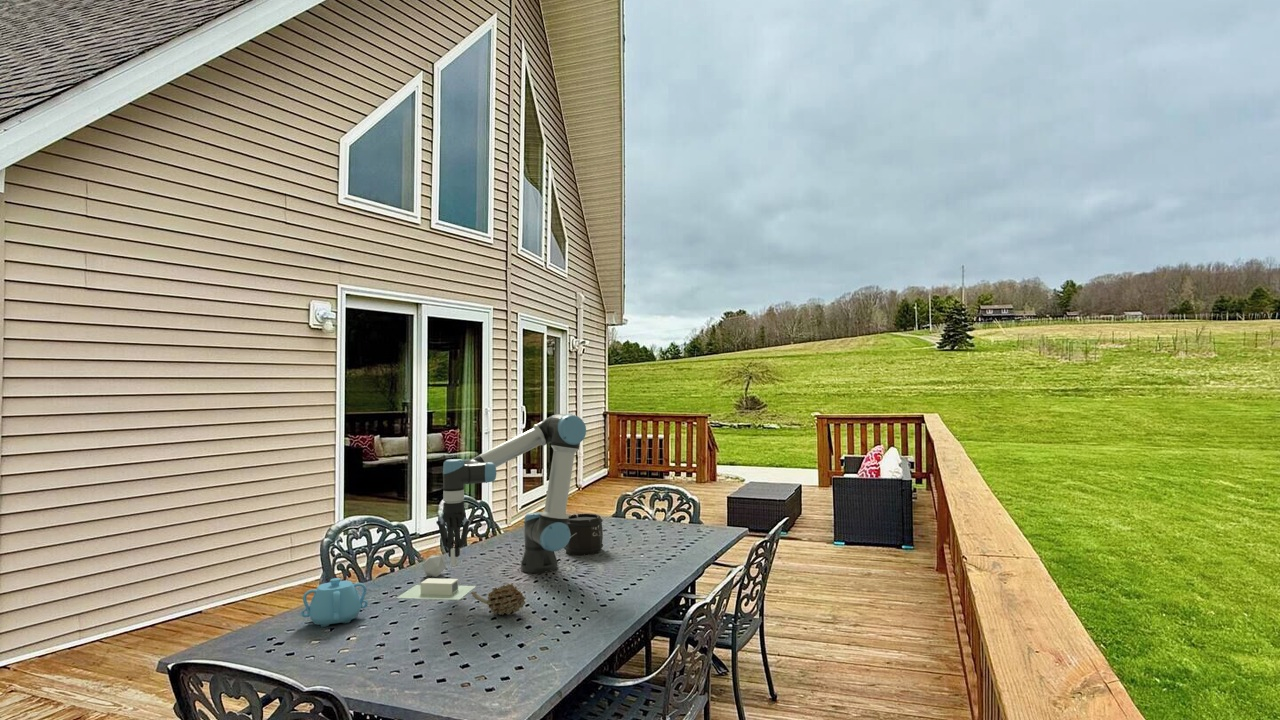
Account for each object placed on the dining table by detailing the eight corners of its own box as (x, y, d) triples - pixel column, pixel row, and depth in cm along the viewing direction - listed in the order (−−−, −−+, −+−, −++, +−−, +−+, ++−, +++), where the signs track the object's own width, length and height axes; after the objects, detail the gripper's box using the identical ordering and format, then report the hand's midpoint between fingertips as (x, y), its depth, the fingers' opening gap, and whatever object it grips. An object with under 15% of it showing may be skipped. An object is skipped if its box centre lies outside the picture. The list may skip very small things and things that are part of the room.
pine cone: (532, 612, 222) (531, 582, 223) (516, 621, 214) (516, 590, 214) (477, 605, 231) (476, 576, 231) (459, 614, 222) (459, 584, 222)
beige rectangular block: (458, 578, 248) (427, 578, 250) (451, 583, 242) (420, 583, 244) (458, 589, 248) (427, 589, 250) (451, 594, 242) (420, 594, 244)
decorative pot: (332, 633, 207) (332, 589, 208) (296, 625, 214) (296, 583, 214) (372, 616, 222) (372, 575, 223) (338, 609, 229) (338, 570, 229)
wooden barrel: (568, 546, 313) (567, 512, 314) (605, 546, 311) (605, 513, 311) (558, 556, 295) (558, 520, 296) (598, 556, 293) (597, 520, 293)
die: (450, 575, 270) (444, 553, 275) (442, 570, 263) (437, 548, 268) (430, 583, 269) (425, 561, 274) (422, 578, 262) (417, 556, 267)
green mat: (476, 586, 252) (476, 586, 252) (459, 600, 236) (459, 599, 236) (416, 585, 256) (416, 584, 256) (396, 598, 240) (396, 598, 240)
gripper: (474, 499, 249) (474, 563, 248) (441, 499, 251) (441, 562, 250) (466, 503, 242) (467, 568, 241) (432, 503, 243) (432, 568, 242)
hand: (454, 565), depth 245 cm, fingers closed
